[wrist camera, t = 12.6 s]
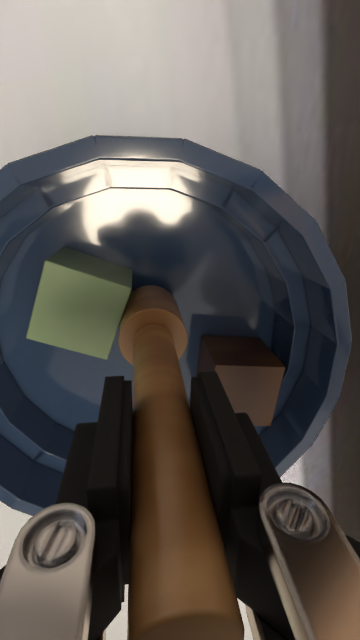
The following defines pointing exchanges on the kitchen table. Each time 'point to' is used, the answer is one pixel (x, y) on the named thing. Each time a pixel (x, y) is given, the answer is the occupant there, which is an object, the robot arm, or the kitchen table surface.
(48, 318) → the sage block
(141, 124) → the kitchen table surface
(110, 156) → the mixing bowl
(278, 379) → the walnut block
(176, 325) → the muddler
